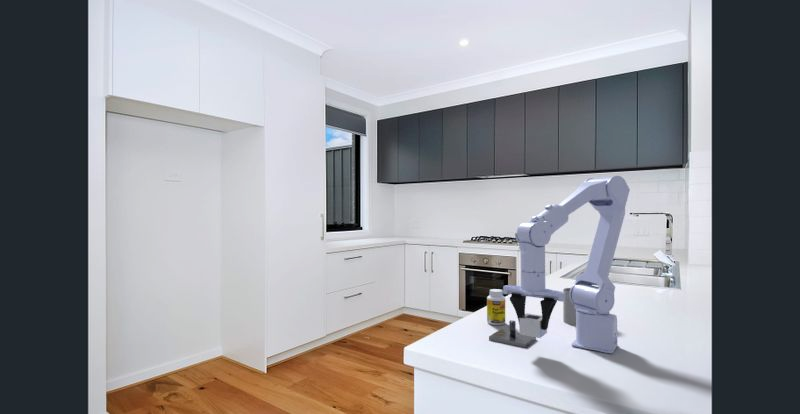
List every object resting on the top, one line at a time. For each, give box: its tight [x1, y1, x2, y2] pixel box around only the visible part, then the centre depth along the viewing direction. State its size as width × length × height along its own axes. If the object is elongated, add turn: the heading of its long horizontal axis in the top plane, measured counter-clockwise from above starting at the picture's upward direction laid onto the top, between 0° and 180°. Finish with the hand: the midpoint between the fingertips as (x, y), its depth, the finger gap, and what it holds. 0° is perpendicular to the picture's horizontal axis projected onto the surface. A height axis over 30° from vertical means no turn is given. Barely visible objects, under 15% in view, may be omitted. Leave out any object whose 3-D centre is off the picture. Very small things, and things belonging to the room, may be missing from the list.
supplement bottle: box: [486, 288, 506, 326], centre depth 123 cm, size 6×6×10 cm
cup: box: [562, 287, 576, 327], centre depth 123 cm, size 8×8×10 cm
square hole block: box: [518, 312, 548, 339], centre depth 97 cm, size 5×5×4 cm
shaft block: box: [488, 320, 537, 349], centre depth 107 cm, size 10×8×5 cm
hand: (533, 326), depth 97 cm, fingers closed on square hole block, 5 cm apart
